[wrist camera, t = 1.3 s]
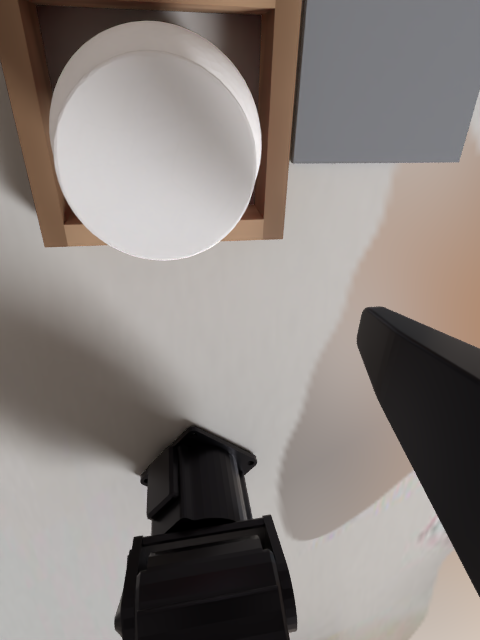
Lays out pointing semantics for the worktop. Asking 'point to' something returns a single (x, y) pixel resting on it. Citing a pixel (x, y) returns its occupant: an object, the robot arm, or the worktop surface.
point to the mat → (386, 80)
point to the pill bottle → (154, 140)
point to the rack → (272, 3)
